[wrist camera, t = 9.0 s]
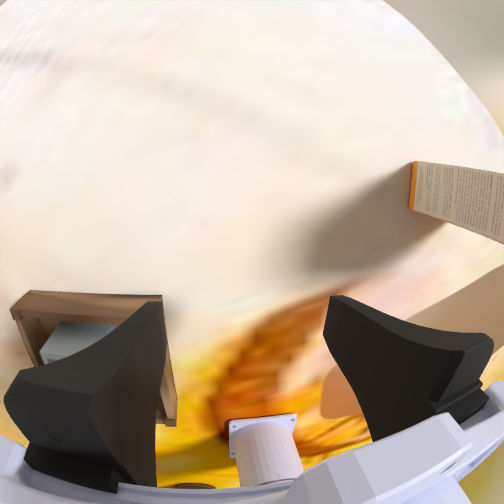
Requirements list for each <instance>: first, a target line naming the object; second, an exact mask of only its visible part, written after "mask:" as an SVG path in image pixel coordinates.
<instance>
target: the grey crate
mask: <svg viewBox="0 0 504 504" xmlns="http://www.w3.org/2000/svg"><path fill="white" fill-rule="evenodd" d="M115 328H117V327H116V325H104V324H90V323H77V322H67V321H61V322H60V323H59V325H58V326H57V327H56V329H55V330H54V332H53V333H52V334H51V336H50V337H49V339H48V340H47V341H46V343H45V344H44V346H43V347H42V349H41V350H40V355H41V357H42V359H43V362H44V364H48V363H52V362H54V361H57V360H60V359H63V358H65V357H68V356H70V355H72V354H74V353H76V352H78V351H81V350H83V349H85V348H87V347H89V346H90V345H92V344H94V343H95V342H97V341H99V340H100V339H102V338H103V337H105V336H106V335H108V334H109V333H110V332H112V331H113V330H114V329H115Z"/></svg>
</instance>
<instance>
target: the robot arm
mask: <svg viewBox="0 0 504 504" xmlns="http://www.w3.org/2000/svg"><path fill="white" fill-rule="evenodd" d="M323 336H324V339H325V341H326V344H327V346H328V348H329V351H330V353H331V354H332V356H333V358H334V359H335V361H336V363H337V364H338V366H339V368H340V369H341V371H342V372H343V374H344V376H345V377H346V379H347V380H348V382H349V384H350V385H351V387H352V389H353V391H354V393H355V395H356V397H357V399H358V402H359V404H360V407H361V409H362V412H363V414H364V417H365V419H366V422H367V425H368V428H369V431H370V434H371V437H372V441H373V442H372V443H370V444H367V445H364V446H361V447H358V448H355V449H351V450H348V451H346V452H344V453H341V454H338V455H336V456H333V457H330V458H328V459H325V460H323V461H322V462H320V463H318V464H316V465H314V466H312V467H311V468H309V469H307V470H305V471H304V469H303V466H302V463H301V460H300V457H299V454H298V451H297V449H296V446H295V443H294V440H293V437H292V433H293V430H294V426H295V423H296V419H297V415H296V414H295V413H292V414H285V415H278V416H270V417H261V418H250V419H238V420H231V421H229V455H230V457H231V458H236V463H237V469H238V475H239V481H240V486H241V487H240V488H226V489H172V488H158V487H157V479H156V459H155V428H156V410H157V402H158V397H159V392H160V386H161V381H162V377H163V372H164V367H165V362H166V348H167V339H166V331H165V324H164V316H163V307H162V301H147V302H146V303H145V304H144V305H142V306H141V307H140V308H139V309H138V310H137V311H136V312H135V313H133V314H132V315H131V316H130V317H129V318H128V319H127V320H125V321H124V322H123V323H122V324H121V325H119V326H118V327H117V328H115V329H114V330H113V331H112V332H110V333H109V334H108V335H106V336H105V337H103V338H102V339H100V340H99V341H97V342H95V343H94V344H92V345H90V346H89V347H87V348H85V349H83V350H81V351H78V352H76V353H74V354H72V355H70V356H68V357H65V358H63V359H60V360H57V361H54V362H52V363H48V364H45V365H41V366H37V367H33V368H29V369H24V370H20V371H19V373H18V374H17V376H16V377H15V379H14V381H13V382H12V384H11V385H10V387H9V389H8V391H7V392H6V394H5V396H4V404H5V407H6V410H7V412H8V414H9V415H10V417H11V419H12V420H13V421H14V423H15V424H16V425H17V427H18V428H19V429H20V430H21V432H22V433H23V434H24V436H25V437H26V438H27V439H28V440H29V442H30V443H29V446H28V448H27V449H26V448H25V447H24V446H22V445H21V444H19V443H17V442H15V441H13V440H11V439H8V438H6V437H4V436H2V435H0V504H471V502H470V500H469V499H468V497H467V496H466V494H465V493H464V491H463V490H462V488H461V487H460V486H459V484H458V483H457V482H458V481H459V480H461V479H462V478H463V477H464V476H466V475H467V474H468V473H470V472H471V471H472V470H473V469H474V468H475V467H477V466H478V465H479V464H480V463H481V462H482V461H483V460H485V458H487V457H488V456H489V455H490V454H491V453H492V452H493V451H494V450H495V449H496V448H497V447H498V446H499V445H500V444H501V443H502V442H503V441H504V382H503V381H502V380H501V379H498V380H497V381H496V382H494V383H493V384H492V385H490V386H489V387H488V388H487V389H486V390H485V391H484V392H483V391H482V390H481V389H480V388H481V387H482V385H483V383H482V382H481V381H480V380H479V378H480V376H481V374H482V372H483V371H484V369H485V367H486V365H487V363H488V361H489V359H490V357H491V355H492V352H493V348H494V342H493V340H492V339H491V338H490V337H489V336H487V335H486V334H483V333H459V332H450V331H449V332H448V331H442V330H436V329H432V328H427V327H423V326H419V325H416V324H412V323H409V322H406V321H403V320H400V319H398V318H395V317H393V316H390V315H388V314H385V313H383V312H381V311H378V310H376V309H374V308H372V307H370V306H367V305H365V304H363V303H361V302H359V301H356V300H354V299H352V298H349V297H346V296H343V295H339V296H330V300H329V306H328V311H327V316H326V321H325V326H324V331H323Z"/></svg>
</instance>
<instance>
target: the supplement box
mask: <svg viewBox="0 0 504 504" xmlns="http://www.w3.org/2000/svg"><path fill="white" fill-rule="evenodd" d="M409 209H411V210H413V211H416V212H419V213H422V214H425V215H428V216H431V217H434V218H437V219H440V220H443V221H445V222H448V223H451V224H454V225H457V226H459V227H462V228H465V229H467V230H470V231H472V232H475V233H477V234H480V235H482V236H485V237H487V238H490V239H492V240H495V241H497V242H499V243H502V244H504V174H502V173H496V172H491V171H485V170H480V169H473V168H467V167H460V166H453V165H445V164H437V163H428V162H418V161H414V162H413V170H412V179H411V190H410V199H409Z"/></svg>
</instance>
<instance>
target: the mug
mask: <svg viewBox="0 0 504 504" xmlns="http://www.w3.org/2000/svg"><path fill="white" fill-rule="evenodd" d="M174 489H216V488H215V487H213V486H211V485H207V484H201V483H184V484H179V485H177V486H175V487H174Z"/></svg>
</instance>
